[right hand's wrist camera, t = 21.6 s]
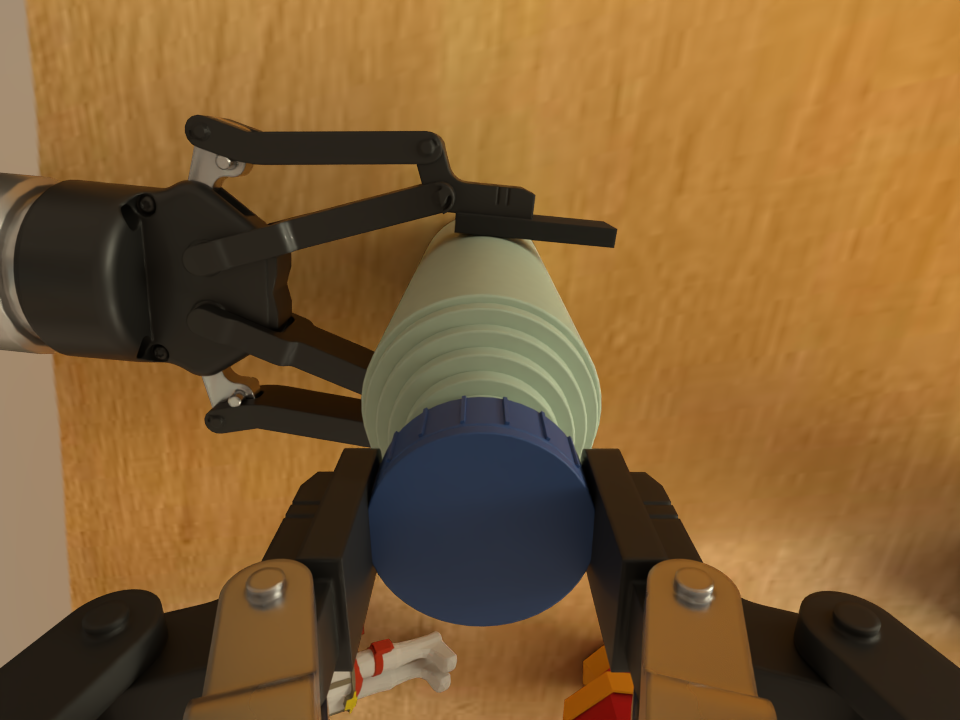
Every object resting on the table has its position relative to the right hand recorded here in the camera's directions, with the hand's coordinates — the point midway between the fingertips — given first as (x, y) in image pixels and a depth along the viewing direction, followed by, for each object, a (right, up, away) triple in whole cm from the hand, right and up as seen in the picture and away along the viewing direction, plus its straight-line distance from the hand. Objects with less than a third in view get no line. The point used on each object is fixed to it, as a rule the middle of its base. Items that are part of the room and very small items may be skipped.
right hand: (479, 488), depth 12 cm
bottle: (0, +7, +20) cm, 21 cm away
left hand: (+5, +5, +14) cm, 15 cm away
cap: (0, 0, -1) cm, 1 cm away
